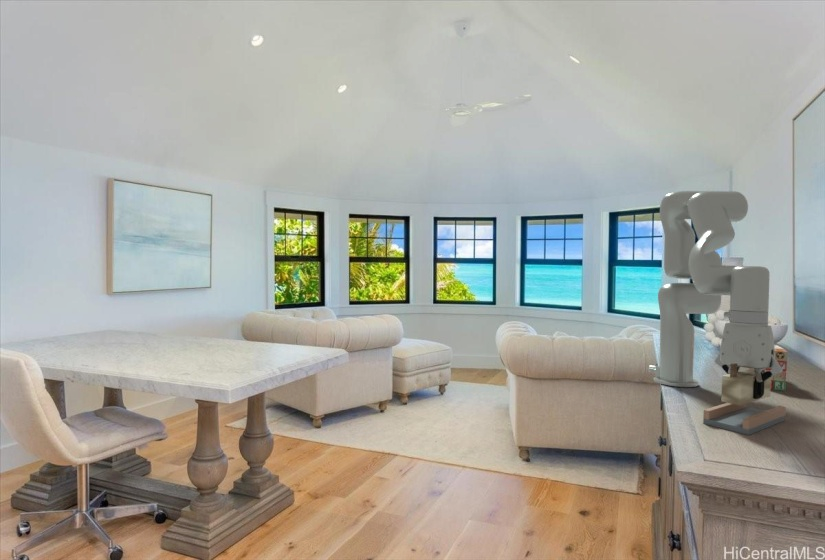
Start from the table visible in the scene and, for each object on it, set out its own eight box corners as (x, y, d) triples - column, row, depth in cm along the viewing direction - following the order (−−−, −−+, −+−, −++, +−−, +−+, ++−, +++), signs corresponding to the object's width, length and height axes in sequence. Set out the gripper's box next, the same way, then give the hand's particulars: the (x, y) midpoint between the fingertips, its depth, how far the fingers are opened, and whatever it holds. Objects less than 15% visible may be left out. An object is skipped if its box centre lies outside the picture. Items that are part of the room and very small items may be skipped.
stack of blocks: (748, 375, 171) (749, 339, 171) (770, 377, 168) (771, 341, 168) (761, 388, 152) (762, 348, 151) (786, 391, 149) (787, 350, 149)
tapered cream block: (721, 401, 114) (722, 362, 114) (751, 392, 124) (752, 356, 123) (740, 405, 111) (741, 365, 111) (770, 396, 120) (771, 359, 120)
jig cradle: (703, 423, 116) (703, 409, 116) (741, 410, 127) (742, 398, 127) (748, 435, 108) (749, 420, 108) (785, 420, 119) (785, 407, 119)
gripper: (703, 316, 122) (701, 390, 122) (784, 322, 108) (781, 406, 108) (718, 315, 126) (715, 386, 126) (797, 321, 112) (794, 401, 112)
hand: (746, 395), depth 117 cm, fingers closed on tapered cream block, 4 cm apart
